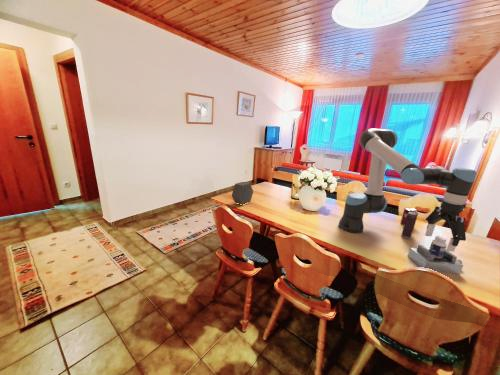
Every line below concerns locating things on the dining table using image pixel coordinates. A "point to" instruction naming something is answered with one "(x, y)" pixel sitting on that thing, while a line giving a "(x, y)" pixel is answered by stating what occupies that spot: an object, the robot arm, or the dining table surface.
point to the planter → (242, 192)
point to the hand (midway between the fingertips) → (438, 242)
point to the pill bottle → (438, 246)
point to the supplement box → (409, 224)
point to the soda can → (405, 213)
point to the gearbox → (435, 260)
